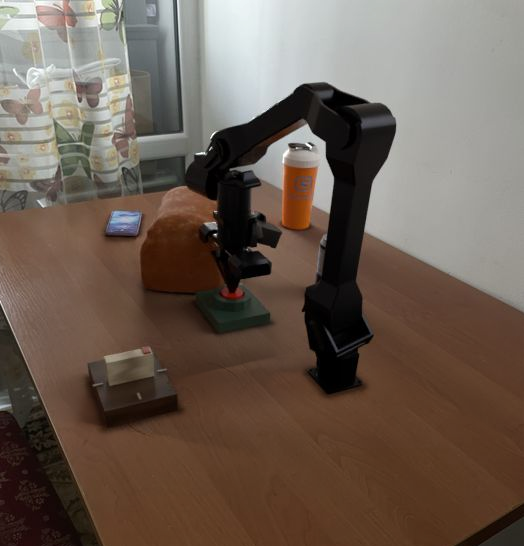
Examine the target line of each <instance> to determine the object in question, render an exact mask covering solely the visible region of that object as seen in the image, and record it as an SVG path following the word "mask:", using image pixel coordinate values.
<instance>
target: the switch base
mask: <svg viewBox="0 0 524 546" xmlns="http://www.w3.org/2000/svg"><path fill="white" fill-rule="evenodd" d="M151 351H152V353H153V364H154V376H152V377H148V378H143V379H139V380H135V381H130V382H126V383H121V384H117V385H112V386H109V384H108V381H107V378H106V371H105V364H104V359H100V360H95V361H91V362H87V363H86V364H87V369H88V374H89V375H88V377H89V381H90V384H91V386H92V389H93V392H94V395H95V398H96V401H97V404H98V406H99V409H100V412H101V415H102V418H103V420H104V423H105V426H106V428H107V429H111V428H114V427H118V426H121V425H125V424H130V423H134V422H137V421H142V420H147V419H149V418H153V417H157V416H161V415H165V414H169V413H172V412H176V411H179V407H178V394H177V392H176V389H175V387H174V385H173V384H172V382H171V380H170V378H169V377H168V374H167V373H166V371H168V369H167V368H164V367H163V365H162V363H161V362H160V360H159V358H158V356H157V354H156V352H155V351H154V349H151Z"/></svg>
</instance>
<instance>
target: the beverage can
mask: <svg viewBox="0 0 524 546" xmlns="http://www.w3.org/2000/svg"><path fill="white" fill-rule="evenodd" d="M326 238H327V233H325V234H323V235H322V238H321V240H320V242H319V247H318V256H317V264H316V274H315V280H314V281H315V282H314V284H315V283H318V282H319V281H320V279H321V276H322V269H323V262H324V254H325V246H326Z"/></svg>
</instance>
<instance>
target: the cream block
mask: <svg viewBox="0 0 524 546" xmlns="http://www.w3.org/2000/svg"><path fill="white" fill-rule="evenodd" d="M151 350H152V349H151V347H150V346H148V345H147V346H142V347H141V348H137V349H132V350H128V351H123V352H119V353H114V354H109V355H103V360H104V364H105V371H106V378H107V381H108V384H109V386H112V385H117V384H121V383H126V382H130V381H135V380H139V379H143V378H148V377H152V376H154V364H153V353H152V351H151Z"/></svg>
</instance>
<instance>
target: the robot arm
mask: <svg viewBox="0 0 524 546" xmlns="http://www.w3.org/2000/svg"><path fill="white" fill-rule="evenodd" d="M306 125H307V126H308V128H309V129H310V131H311V134H312V135H314V136H316V138H319V139H320V140H321V141H323V142H324V143H325V144H324V145H325V159H326V162H327V164H328V167H329V169H330V172H331V174H332V177H333V184H332V192H331V200H330V206H329V207H330V208H329V216H328V223H327V231H326V234H327V238H326V246H325V254H324V262H323V269H322V276H321V279H320V281H319V282H318V283H315V282H314V283H313V284H310V285H308V286H306V287H305V289H304V294H303V295H304V296H303V297H304V303H303V306H302V309H301V313H304V315H303V316H304V317H303V320H304V325H305V330H306V335H307V336H306V337H307V342H308V347H309V350H310V351H312V352H314V354H315V358H316V363H315V367H311V368H308V369H307V374H308V375H309V376H310V377H311V379H313V381H314V382H315V383H316V384H317V385H318V386H319V388H320V389H321V390H322V391H323V392H324V393H325V394H326V395H333V394H337V393H341V392H344V391H348V390H351V389H355V388H358V387H361V386H363V381H362V379H360V377H358V376H357V372H358V365H359V360H360V356H361V355H360V352H359V348H362V347H363V346H366V345H369V344H370V342H371V341H372V340H373V338H374V336H375V334H374V332H373V330H372V327H371V326H370V324H369V322H368V320H367V318H366V316H365V314H364V312H363V300H364V299H363V293H362V291H361V289H360V287H359V285H358V282H357V277H358V271H359V265H360V259H361V253H362V247H363V241H364V236H365V229H366V224H367V219H368V217H367V216H368V212H369V206H370V199H371V194H372V187H373V183H374V180H375V179H376V178H377V175H378V174H379V172H380V171H381V169H382V168H383V166H384V165H385V164H386V162H387V160H388V159H389V155H390V152H391V149H392V146H393V144H394V140H395V137H396V133H397V120H396V117H395V116H394V115H393V113H392V111H391V109H390V108H389V107H388V106H387V105H386V104H384V103H382V102H370V101H369V100H368V99H365V98H363V97H360V96H357V95H354V94H351V93H348V92H346V91H343V90H341V89H339V88H337V87H336V86H334V85H332V84H329V82H326V81H317V82H307V83H302V84H299V85H298V86H297V87H296V88H295V89H294V90H293V91H292V92H291V93H290V94H288V95H287V96H285V97H283V98H282V99H280V100H279V101H277V102H275V104H273V105H271V106H270V107H268V108H267V109H265V110H264V111H261V113H259V114H257V115H256V116H255V117H253V118H252V119H250V120H248V121H247V122H244V123H242V124H238V125H233V126H228V127H225V128H222V129H219V130H216V131H214V133H212V134H211V137H210V143H209V144H208V147H207V148H206V150H205V152H198V153H194V154H193V161H192V162H191V163H190V164H189V165H188V167H187V169H186V170H185V174H184V178H183V179H184V183H185V186H187V187H188V189H189V190H191V191H193V192H195V193H197V194H199V195H201V196H203V197H206V198H208V199H210V200H212V201H217V211H213V218H214V219H215V220H216V221H217V222H212V223H204V224H203V225H202V226H201V227H200V228H199V239H200V240H201V241H202V242H203V243H207V242H208V241H209V238H208V236H210V237H213V243H214V244H215V250H214V251H211V255H212V256H213V258H214V260H215V262H216V265H217V267H218V269H219V271H220V273H221V275H222V277H223V280H224V282H225V285H226V286H227V288H228V291H229V292H230V293H235V292H236V290H237V288H238V285H240V282H241V281H242V280H247V279H253V278H259V277H265V276H270V275H271V274H272V265H273V264H272V263H273V262H272V261H270V259H268V258H267V257H266V256H265V255H264V254H263V253H262V252H261V251H260V250H252V249H253V248H257V247H258V244H259V245H263V246H267V247H270V248H271V249H277V247H278V244H279V242H280V240H281V236H282V234H283V230H281V229H280V228H279V227H278V226H276V225H275V224H273V223H272V222H270V221H268V220H267V216H266V215H265V214H264V213H263V212H261V211H257V210H255V211H254V212H253V213H252V200H253V199H252V197H253V189H254V188H259V187H261V186H262V181H261V180H260V178H259V177H258V176H256V174H255V173H254V170H252V169H250V170H245V171H242V170H239V169H238V168H242V167H247V166H254V165H256V164H257V163H258V162H259V161H260V160H261V159H262V158H263V157H264V156H266V155H267V152H268V149H269V147H271V146H272V145H273V144H275V143H276V142H278V141H280V140H281V139H284V138H285V137H287V136H289V135H291V134H292V133H293V132H295V131H298V130H299V129H301V128H303V127H304V126H306ZM236 168H237V169H236Z"/></svg>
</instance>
